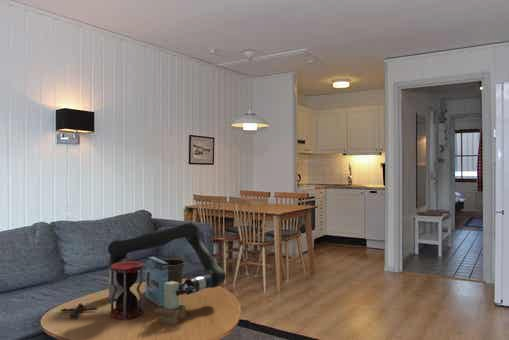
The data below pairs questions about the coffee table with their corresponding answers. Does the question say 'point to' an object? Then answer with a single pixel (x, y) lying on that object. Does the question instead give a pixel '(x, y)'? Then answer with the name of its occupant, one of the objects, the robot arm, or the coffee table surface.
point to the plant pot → (175, 270)
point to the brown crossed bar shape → (78, 310)
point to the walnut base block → (171, 314)
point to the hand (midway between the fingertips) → (170, 291)
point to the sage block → (171, 295)
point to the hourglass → (126, 290)
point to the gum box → (156, 279)
